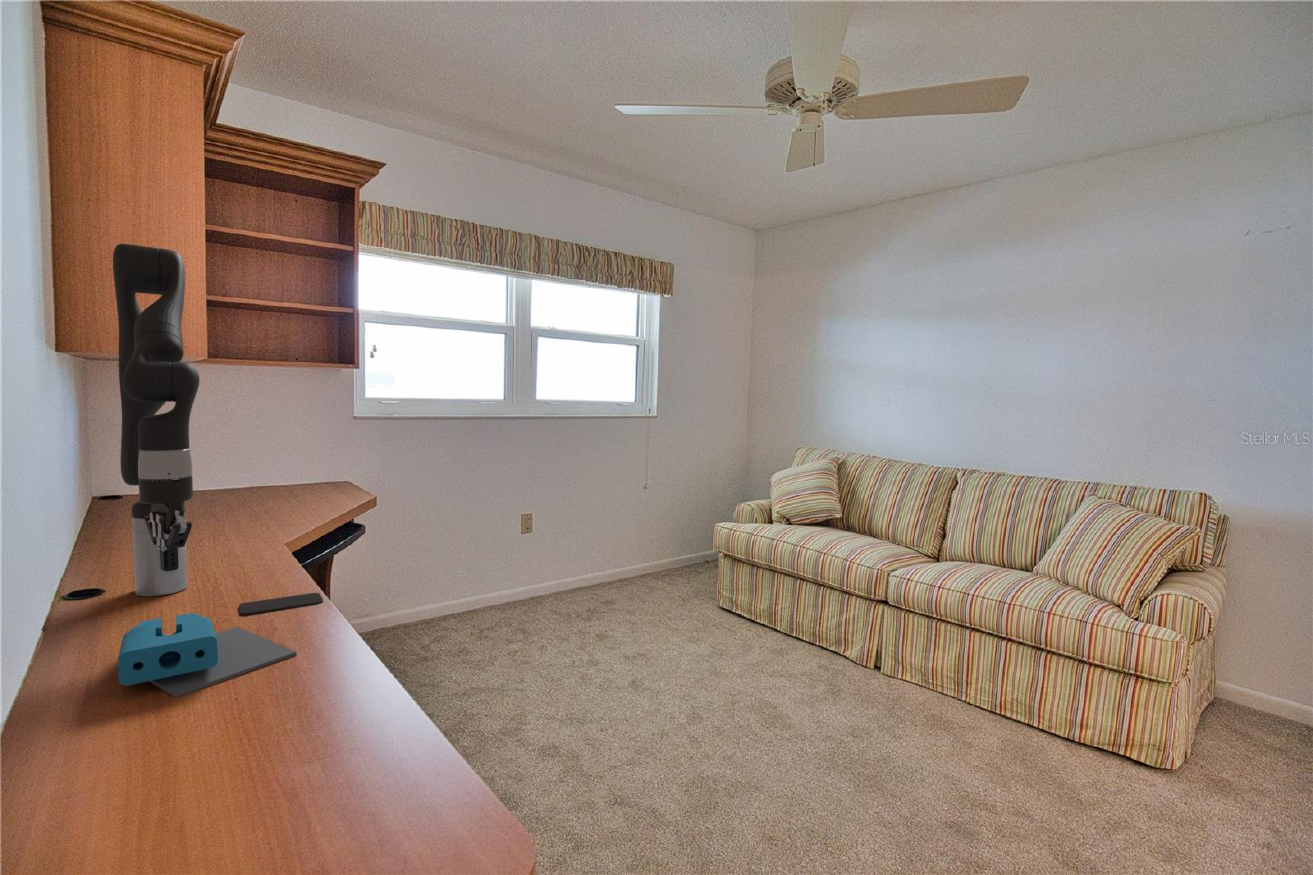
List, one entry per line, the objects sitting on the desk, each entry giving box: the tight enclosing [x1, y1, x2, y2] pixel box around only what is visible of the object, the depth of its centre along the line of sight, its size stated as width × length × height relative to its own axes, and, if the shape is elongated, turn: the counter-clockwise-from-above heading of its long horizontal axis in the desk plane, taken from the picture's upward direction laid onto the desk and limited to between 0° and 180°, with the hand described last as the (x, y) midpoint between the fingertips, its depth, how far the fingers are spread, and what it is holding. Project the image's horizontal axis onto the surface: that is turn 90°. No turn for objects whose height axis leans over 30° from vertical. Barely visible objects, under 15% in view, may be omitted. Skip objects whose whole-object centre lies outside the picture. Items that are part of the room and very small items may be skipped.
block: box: [117, 612, 218, 686], centre depth 104 cm, size 12×5×20 cm
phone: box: [238, 592, 324, 617], centre depth 133 cm, size 7×1×15 cm
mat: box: [148, 626, 298, 698], centre depth 106 cm, size 20×18×1 cm
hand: (169, 570), depth 112 cm, fingers closed
